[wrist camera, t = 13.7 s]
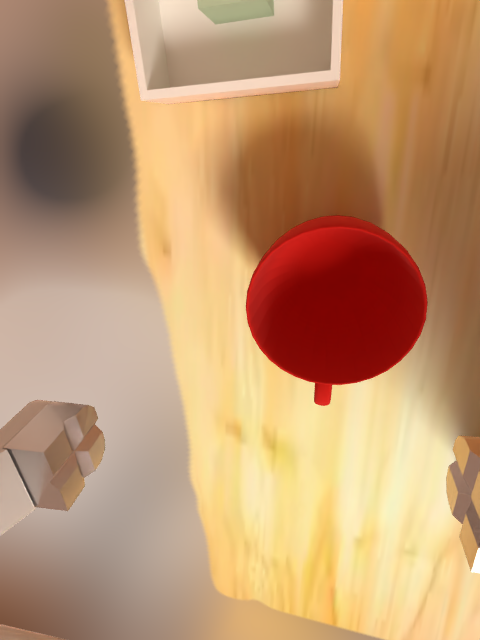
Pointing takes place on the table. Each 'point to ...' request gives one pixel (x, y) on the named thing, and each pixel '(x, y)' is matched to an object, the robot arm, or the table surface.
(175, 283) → the table surface
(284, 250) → the ceramic cup
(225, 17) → the sage cube
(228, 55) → the tub
